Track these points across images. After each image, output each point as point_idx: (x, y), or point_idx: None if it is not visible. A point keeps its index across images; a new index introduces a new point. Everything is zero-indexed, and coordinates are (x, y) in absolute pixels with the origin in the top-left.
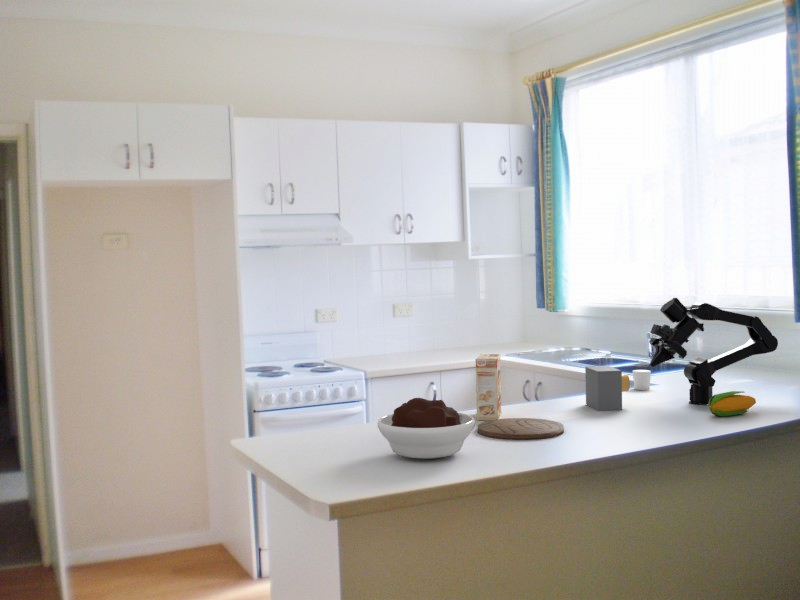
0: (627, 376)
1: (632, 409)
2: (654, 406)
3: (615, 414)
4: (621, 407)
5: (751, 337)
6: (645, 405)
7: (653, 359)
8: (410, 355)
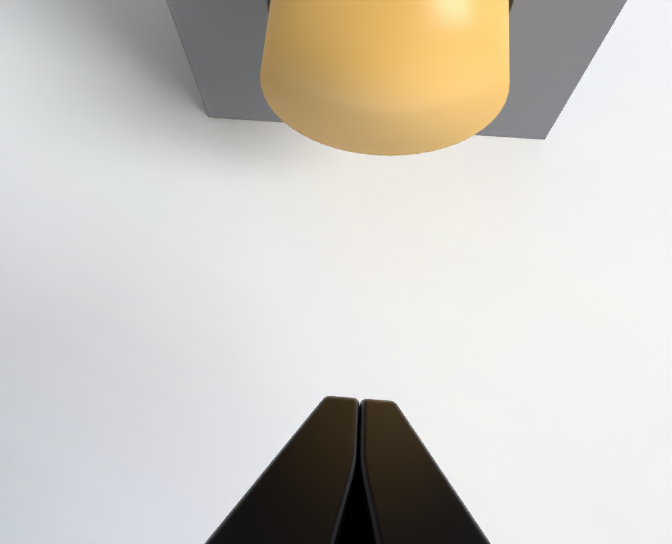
0: (302, 11)
1: (204, 202)
2: None
3: (58, 8)
4: (204, 99)
5: None
6: None
7: (329, 507)
8: None
